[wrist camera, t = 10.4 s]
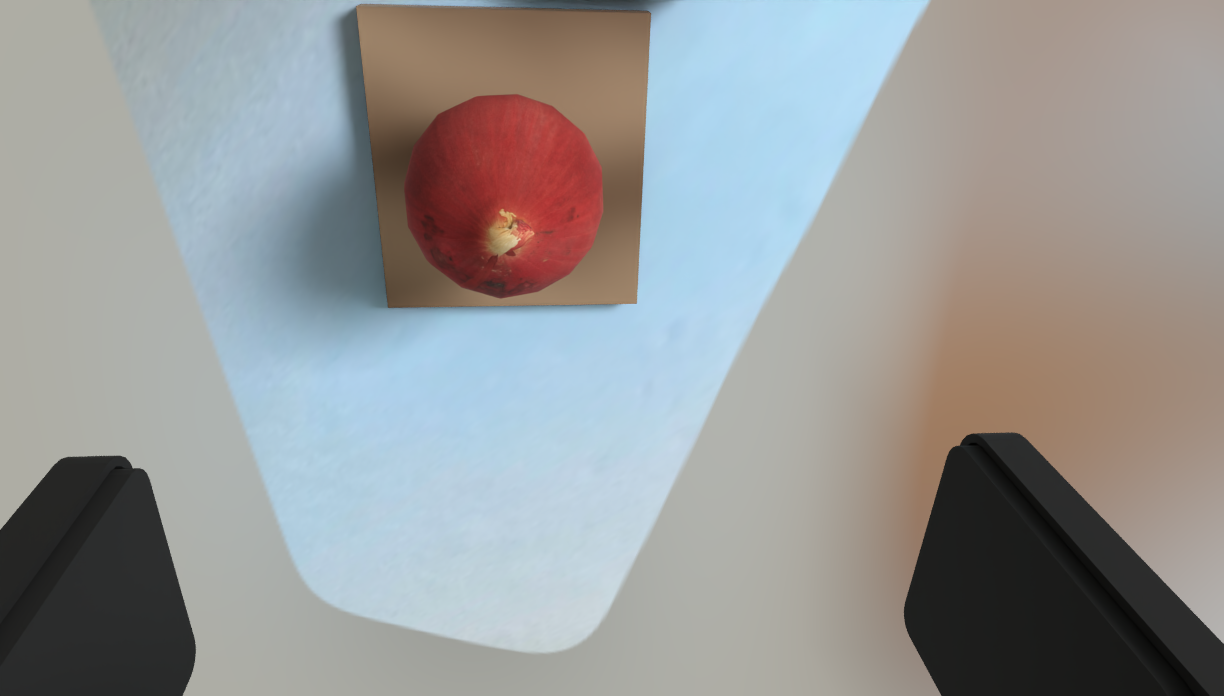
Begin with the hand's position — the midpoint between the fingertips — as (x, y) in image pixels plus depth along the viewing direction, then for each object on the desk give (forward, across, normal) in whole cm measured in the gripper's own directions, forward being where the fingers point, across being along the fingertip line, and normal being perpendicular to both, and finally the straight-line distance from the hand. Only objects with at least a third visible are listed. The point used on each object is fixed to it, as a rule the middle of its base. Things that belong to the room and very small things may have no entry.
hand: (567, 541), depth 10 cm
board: (+20, +1, +1) cm, 20 cm away
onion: (+20, +1, +1) cm, 20 cm away
